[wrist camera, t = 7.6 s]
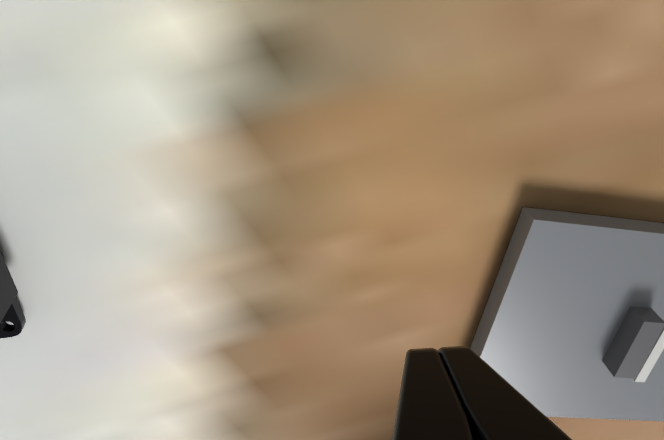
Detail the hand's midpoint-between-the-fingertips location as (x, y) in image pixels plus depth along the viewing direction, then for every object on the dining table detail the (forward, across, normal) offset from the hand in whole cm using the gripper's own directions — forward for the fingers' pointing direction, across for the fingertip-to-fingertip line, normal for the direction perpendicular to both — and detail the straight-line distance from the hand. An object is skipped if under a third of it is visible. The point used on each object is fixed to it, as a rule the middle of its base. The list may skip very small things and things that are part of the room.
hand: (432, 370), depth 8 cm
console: (+14, -15, +12) cm, 23 cm away
